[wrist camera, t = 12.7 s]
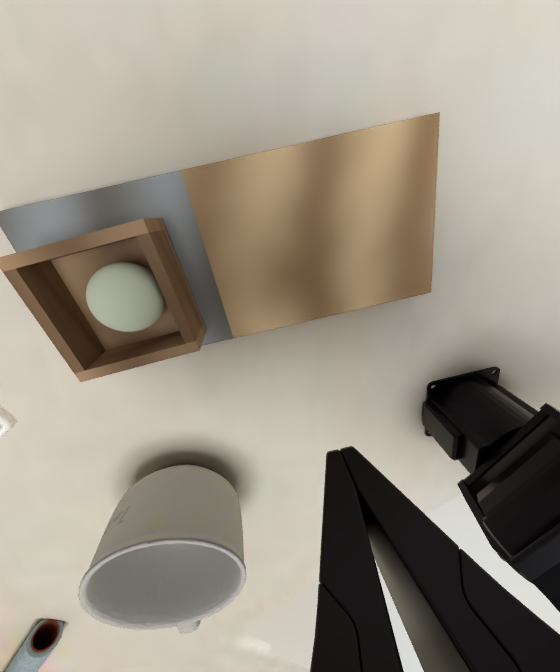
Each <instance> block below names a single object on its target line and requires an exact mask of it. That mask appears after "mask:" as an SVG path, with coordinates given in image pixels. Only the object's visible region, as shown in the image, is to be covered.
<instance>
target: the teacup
mask: <svg viewBox="0 0 560 672" xmlns="http://www.w3.org/2000/svg"><path fill="white" fill-rule="evenodd" d="M245 580H246V567H245V564H244V552H243V530H242V518H241V509H240V503H239V500H238V497H237V494H236V492H235V490H234V488H233V487H232V485H231V484H230V483H229V482H228V481H227V480H226V479H225V478H224V477H222V476H221V475H219V474H218V473H216V472H214V471H211V470H209V469H207V468H204V467H201V466H197V465H176V466H172V467H168V468H165V469H161V470H158V471H155V472H153V473H151V474H149V475H147V476H145V477H143V478H142V479H141V480H139V481H138V482H136V483H135V484H134V485H133V486H132V487H131V488H130V489H129V490H128V491H127V492H126V493H125V495H124V496H123V497H122V499H121V500H120V502H119V504H118V505H117V507H116V509H115V511H114V513H113V515H112V517H111V519H110V521H109V523H108V525H107V527H106V530H105V532H104V534H103V536H102V539H101V541H100V543H99V546H98V548H97V551H96V553H95V555H94V558H93V560H92V563H91V565H90V568H89V569H88V571H87V572H86V573H85V575H84V577H83V579H82V581H81V584H80V587H79V594H78V596H79V601H80V603H81V606H82V607H83V608H84V610H85V611H86V612H87V613H88V614H90V615H91V616H92V617H93V618H95V619H96V620H98V621H100V622H102V623H105V624H108V625H111V626H115V627H120V628H124V629H134V630H155V629H162V628H172V627H175V626H177V628H178V630H179V632H180V633H182V634H187V633H191V632H193V631H195V630H196V629H197V628H198V626H199V624H200V621H201V619H203V618H205V617H209V616H210V615H212V614H214V613H216V612H218V611H220V610H222V609H223V608H224V607H226V606H227V605H228V604H229V603H230V602H232V601H233V600H234V599H235V598H236V597H237V596H238V594H239V593H240V591H241V590H242V588H243V586H244V583H245Z"/></svg>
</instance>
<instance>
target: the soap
mask: <svg viewBox="0 0 560 672" xmlns="http://www.w3.org/2000/svg"><path fill="white" fill-rule="evenodd" d="M16 423H17V420H16V418H15V417H14V416H13V415H12V414H10V413H9V412H8V411H7V410H5V409H4V408H3V407H1V406H0V438H1V437H2V436H3V435H4V434H6V433H7V432H8V431H9V430H10V429H11V428H12V427H13V426H14V425H15V424H16Z"/></svg>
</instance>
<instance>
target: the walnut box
mask: <svg viewBox="0 0 560 672" xmlns="http://www.w3.org/2000/svg"><path fill="white" fill-rule="evenodd" d="M118 262H128V263H134V264H138V265H140V266H142V267H144V268H146V269H148V270H149V271H151V272H152V273H153V274H154V276H155V278H156V280H157V283H158V285H159V287H160V289H161V291H162V294H163V296H164V298H165V300H166V302H165V307H164V310H163V313H162V314H161V316H160V318H159V319H158V320H157V321H156V322H155V323H154V324H152V325H151V326H149V327H147V328H145V329H143V330H139V331H134V332H123V331H118V330H114V329H112V328H109V327H107V326H105V325H104V324H102V323H101V322H100V321H98V320H97V319H96V318H95V316H94V315H93V314H92V312H91V311H90V309H89V307H88V304H87V301H86V289H87V285H88V282H89V280H90V279H91V277H92V276H93V275H94V274H95V272H97V271H98V270H99V269H101V268H102V267H104V266H106V265H109V264H112V263H118ZM0 269H1V270H2V271H3V273H4V274H5V276H6V277H7V279H8V280H9V281H10V283H11V284H12V286H13V287H14V288H15V290H16V291H17V293H18V294H19V296H20V297H21V298H22V300H23V301H24V303H25V304H26V306H27V307H28V308H29V310H30V311H31V313H32V314H33V315H34V317H35V318H36V320H37V321H38V323H39V324H40V325H41V327H42V328H43V330H44V331H45V332H46V334H47V335H48V337H49V338H50V340H51V341H52V342H53V344H54V345H55V347H56V348H57V350H58V351H59V352H60V354H61V355H62V357H63V358H64V359H65V361H66V362H67V364H68V365H69V367H70V368H71V369H72V371H73V372H74V374H75V375H76V377H77V378H78V379H79V381H80V382H83V381H87V380H90V379H94V378H98V377H102V376H105V375H109V374H113V373H116V372H120V371H124V370H128V369H131V368H135V367H139V366H143V365H146V364H150V363H154V362H158V361H161V360H165V359H169V358H172V357H176V356H180V355H184V354H187V353H191V352H195V351H199V350H200V348H201V345H202V342H203V340H204V337H205V334H206V331H207V328H206V325H205V323H204V320H203V318H202V315H201V313H200V310H199V308H198V305H197V303H196V300H195V298H194V295H193V293H192V290H191V288H190V285H189V283H188V280H187V278H186V275H185V273H184V270H183V268H182V265H181V263H180V260H179V258H178V255H177V253H176V250H175V248H174V245H173V243H172V240H171V238H170V235H169V233H168V230H167V228H166V225H165V223H164V220H163V218H146V219H140V220H136V221H132V222H129V223H125V224H121V225H118V226H114V227H110V228H106V229H103V230H99V231H95V232H92V233H88V234H84V235H81V236H77V237H73V238H70V239H66V240H62V241H58V242H55V243H51V244H47V245H44V246H40V247H36V248H33V249H29V250H25V251H21V252H18V253H14V254H10V255H7V256H3V257H0Z"/></svg>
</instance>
